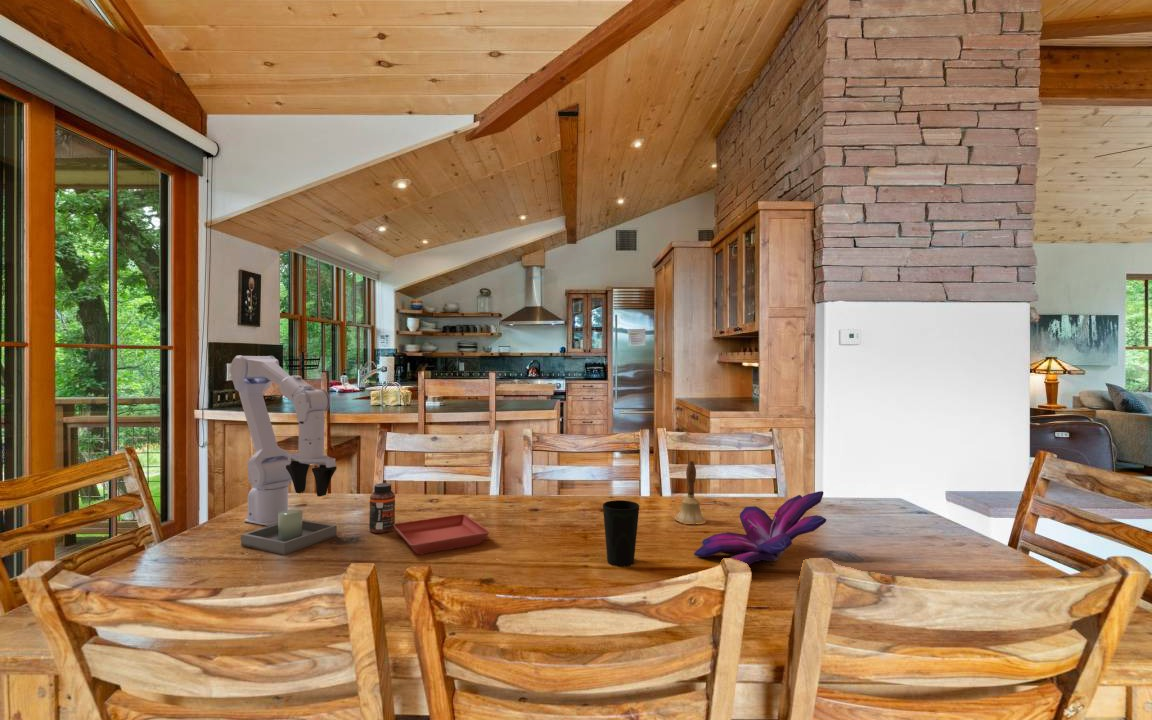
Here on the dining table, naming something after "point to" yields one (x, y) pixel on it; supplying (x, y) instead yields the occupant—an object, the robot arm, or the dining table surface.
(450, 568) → the dining table surface
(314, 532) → the tray
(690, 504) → the hand bell
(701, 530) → the dining table surface
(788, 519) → the decorative flower
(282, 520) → the green cylinder
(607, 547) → the cup
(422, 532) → the plant saucer
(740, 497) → the dining table surface
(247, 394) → the robot arm
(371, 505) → the supplement bottle
